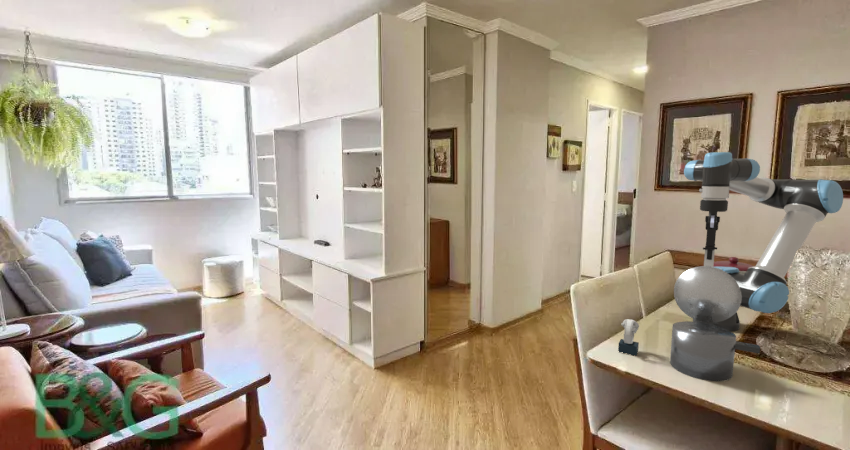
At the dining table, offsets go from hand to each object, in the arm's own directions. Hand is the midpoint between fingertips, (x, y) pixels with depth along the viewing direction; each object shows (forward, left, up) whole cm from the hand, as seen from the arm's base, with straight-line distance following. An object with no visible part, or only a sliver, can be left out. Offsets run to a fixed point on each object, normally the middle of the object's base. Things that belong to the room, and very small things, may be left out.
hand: (708, 268), depth 138 cm
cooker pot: (+8, +18, -28) cm, 34 cm away
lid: (+5, +9, -7) cm, 12 cm away
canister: (-42, -51, -28) cm, 72 cm away
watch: (+28, +6, -28) cm, 40 cm away
